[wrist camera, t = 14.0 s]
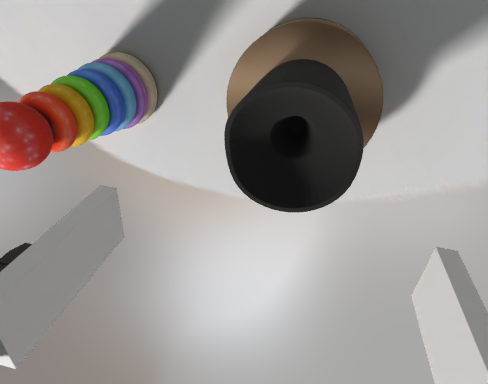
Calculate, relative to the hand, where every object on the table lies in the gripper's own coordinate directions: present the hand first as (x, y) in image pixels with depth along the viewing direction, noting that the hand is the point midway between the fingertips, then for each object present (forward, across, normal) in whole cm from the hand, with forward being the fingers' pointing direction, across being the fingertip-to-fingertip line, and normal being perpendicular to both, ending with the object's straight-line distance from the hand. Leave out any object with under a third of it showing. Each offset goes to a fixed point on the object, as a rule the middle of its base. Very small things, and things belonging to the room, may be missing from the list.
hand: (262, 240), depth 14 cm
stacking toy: (+25, -20, -2) cm, 32 cm away
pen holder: (+20, 0, 0) cm, 20 cm away
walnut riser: (+25, 0, 0) cm, 25 cm away
